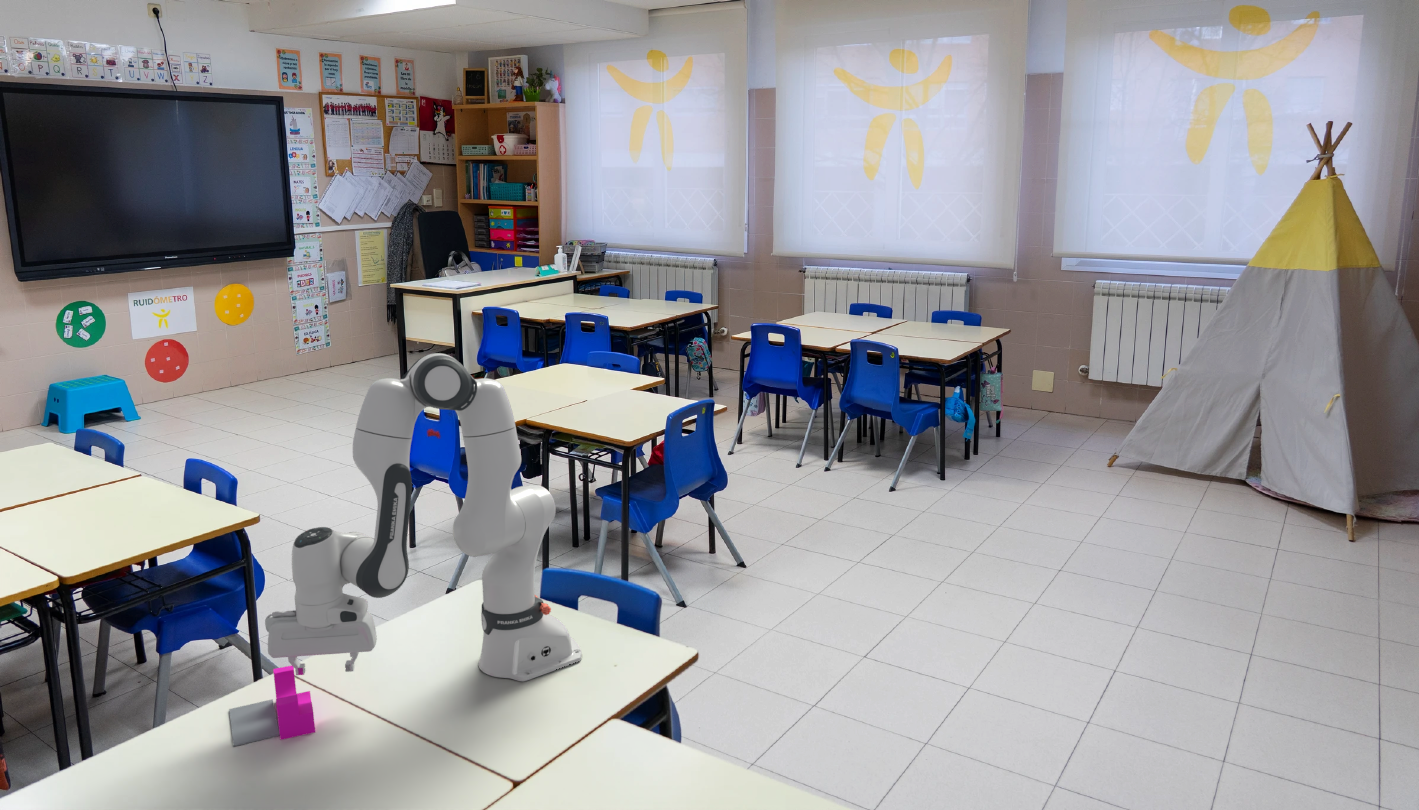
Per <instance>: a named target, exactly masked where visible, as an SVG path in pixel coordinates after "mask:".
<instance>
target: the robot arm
mask: <svg viewBox="0 0 1419 810" xmlns="http://www.w3.org/2000/svg"><path fill="white" fill-rule="evenodd" d="M427 408H434V409H439V410H449V411H455V413H456V415H457V416H458V419H459V422H460V427H461V433H462V438H463V444H464V450H465V455H466V456H465V457H466V462H467V463H466V465H467V475H468V476H467V487H466V492H465V497H464V500H463V501H464V502H463V503H462V505H461V508H460V511H459V512H458V514H457V515H456V517H455V518H454V521H453V523H452V537H453V540H454V543H455V544H456V546H457V548H458V549H459V550H460V551H461V552H462V553H463V554H465V555H467V556H469V557H473V558H475V557H482V556H488V555H491V556H490V557H489V559H488V560H487V562H486V563H485V565H484V567H483V569H482V573H481V582H482V583H481V585H482V600H483V602H482V604H481V612H480V614H481V615H480V616H481V617H480V618H481V619H480V621H481V627H482V630H483V635H482V644H481V652H480V657H479V660H478V667H479V670H481V672H483V673H484V674H485V675H486V674H487V675H488V676H492V677H495V678H505V679H512V680H515V681H518V682H527V681H529V680H533V679H534V678H538V677H540V676H544V675H546V674H549V673H551V672H554V671H556V669H557V670H559V668H560V669H563V668H565V667H569V666H570V665H569V664H571V665H573V663H574V664H575V662H576V663H578V661H579V662H581V660H582V658H583V654H582V649H581V646H580V645H579V643H578V642H577V641H576V640H575V639H574V638H573V637H572V636H570V632H569V631H568V628H567V627H566V625H565V624H564V623H563V622H562V621H561V620H560V619H558V618H557V617H555V616H553V615H551V614H550V613H551V612H552V611H551V610H552V608H551V607H550V606H549V604H548V603H546V602H544V600H543V599H542V598H539V597H538V596H537V595H536V591H535V590H536V587H535V581H536V580H535V574H536V573H535V571H536V564H537V560H538V559H537V558H538V554H539V552H540V551H539V550H540V547H541V544H542V541H543V539H544V537H545V536H544V535H545V534H546V532H547V530H548V528H549V526H550V525H551V523H552V522H553V521H554V519H555V517H556V513H557V512H556V510H557V507H556V503H555V499H554V497H553V495H552V494H551V493H550V491H549V490H548V489H547V488H545V487H544V486H543V485H539V484H531V485H530V484H529V485H521V486H516V487H515V488H513V489H512V485H513V481H514V478H515V475H516V473H517V472H518V470H519V469H520V467H521V464H522V455H521V454H522V453H521V449H520V443H519V437H518V433H517V427H516V422H515V416H514V414H513V413H514V412H513V410H512V406H511V403H510V400H509V397H508V394H507V392H506V390H505V387H504V386H503V384H502V383H501V382H499V381H497V380H495V379H493V378H488V377H487V378H485V377H484V378H474V377H473V376H472V375H471V373H469V371H468V370H467V369H466V368H465V366H464V365H463V364H462V363H461V362H459V360H457V359H456V358H454V357H453V356H450V355H449V354H446V353H441V352H439V353H438V352H437V353H434V352H433V353H430V354H427V355H424V356H422V357H420V358H418V359H417V360H416V361H415V362H414V363H413V364H412V366H410V368H409V369H408V370H407V371H406V372H405V374H403V375H402V376H401V378H390V377H386V378H381V379H377V380H375V381H374V382H373V383H372V384H371V385H370V386H369V388H368V390H367V392H366V394H365V397H364V399H363V401H362V404H361V407H360V411H359V414H358V418H357V422H356V424H355V425H356V426H355V430H354V435H353V439H352V459H353V461H354V464H355V466H356V467H357V468H358V470H359V471H360V473H361V474H363V476H365V478H366V479H367V481H368V482H369V484H370V485H371V487H372V489H373V490H374V493H375V497H376V500H377V501H376V502H377V510H376V519H375V529H374V538H373V537H371V536H370V535H367V534H364V533H362V532H357V531H350V532H341V531H337V530H334V529H332V528H330V527H326V526H321V527H320V526H319V527H313V528H310V529H307V530H305V531H303V532H301V533H300V534H299V535H297V537H296V538H295V539H294V542H293V544H292V547H291V548H292V549H291V573H292V581H293V583H294V586H295V592H294V606H295V607H294V608H295V609H293V610H286V611H285V610H283V611H273V612H272V613H270V614H268V615H267V616H266V617H265V620H264V624H265V625H264V626H265V630H266V631H267V633H268V636H267V654H268V655H269V656H270V657H271V658H273V659H278V658H279V659H280V658H287V659H288V663H289V664H290V666H291V665H292V666H293V667H294V672H295V676H304V675H305V673H306V664H305V663H301V662H300V661H299V659H298V657H307V656H309V657H310V656H323V655H324V656H325V655H337V654H349V657H350V660H346V661H345V664H344V668H345V672H346V673H350V672H354V671H355V662H356V660H357V658H358V655H359V653H365V652H372V651H373V650H374V648H375V647H376V645H377V640H378V638H377V636H378V635H377V631H376V625H375V620H374V618H373V615H372V614H371V613H370V612H369V611H368V609H369V608H368V607H369V606H368V605H369V602H368V600H367V599H366V598H364V597H359V596H356V595H355V596H354V595H350V594H347V593H344V592H343V587H344V586H345V585H348V584H352V585H353V586H355V587H357V588H359V589H360V590H361V591H362V592H364V593H365V594H367V595H368V596H369V597H371V598H375V599H379V598H380V599H383V598H385V597H389V596H391V595H392V594H394V593H396V592H397V591H398V590H399V589H401V587H402V586H403V585H404V583H405V581H406V580H407V578H408V574H409V568H410V561H409V556H408V547H407V546H408V543H407V542H408V532H409V523H410V512H411V506H412V505H411V504H412V503H411V502H412V492H413V491H412V489H413V483H412V481H413V480H412V475H411V474H412V473H411V467H410V456H411V455H410V453H411V447H412V446H411V445H412V441H413V435H414V431H415V429H414V428H415V424H416V422H417V419H418V416H420V413H421V412H422V411H424V410H425V409H427ZM581 657H582V658H581ZM564 666H565V667H564ZM562 667H563V668H562Z"/></svg>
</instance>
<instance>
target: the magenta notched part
mask: <svg viewBox="0 0 1419 810" xmlns="http://www.w3.org/2000/svg"><path fill="white" fill-rule="evenodd" d="M272 670H273V680H274V691H275V703H276V714H277V715H276V716H277V724H278V729H279V734H280V736H279V740H280V741H282V740H287V739H291V738H295V737H300V736H304V735H305V736H306V735H310V734H313V733H316V725H315V715H314V707H313V703H312V697H311V691H310V690H308V691H303V692H298V693H297V685H296V677H295V676H296V674H295V668H294V667H293V666H292V665H291V664H290V665H286V666H283V667H277V668H273V669H272Z"/></svg>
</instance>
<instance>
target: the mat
mask: <svg viewBox="0 0 1419 810" xmlns="http://www.w3.org/2000/svg"><path fill="white" fill-rule="evenodd" d="M228 710H229V717H230V718H229V719H230V720H229V721H230V726H231V735H232V743H233V744H232V745H233V748H234V747H239V746H243V745H246V744H250V743H254V742H258V741H259V742H260V741H262V740H267V739H272V738H276V737H280V734H279V725H278V718H277V715H276V714H277V713H276V710H275V704H274V699H269V700H264V701H258V702H255V703H250V704H246V705H242V706H237V707H233V708H229V709H228Z"/></svg>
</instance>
